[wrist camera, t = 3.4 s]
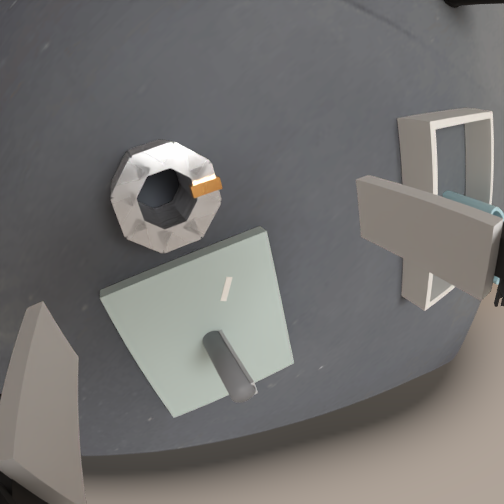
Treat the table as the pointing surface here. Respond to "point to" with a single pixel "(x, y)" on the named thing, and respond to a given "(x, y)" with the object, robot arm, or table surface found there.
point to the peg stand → (205, 322)
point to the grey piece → (175, 212)
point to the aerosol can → (471, 2)
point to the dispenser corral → (425, 178)
